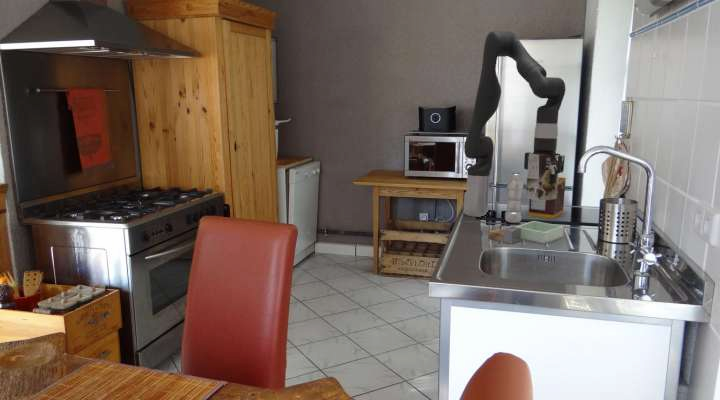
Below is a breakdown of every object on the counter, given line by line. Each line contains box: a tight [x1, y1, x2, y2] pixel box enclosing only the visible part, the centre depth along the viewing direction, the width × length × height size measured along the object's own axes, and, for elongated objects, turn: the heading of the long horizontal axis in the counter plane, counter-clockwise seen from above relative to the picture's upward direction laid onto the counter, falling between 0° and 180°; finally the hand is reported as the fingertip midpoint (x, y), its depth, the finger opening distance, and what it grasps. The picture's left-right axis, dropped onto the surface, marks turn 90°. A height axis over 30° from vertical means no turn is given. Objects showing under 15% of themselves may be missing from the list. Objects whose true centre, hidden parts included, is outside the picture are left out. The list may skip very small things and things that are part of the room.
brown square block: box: [488, 228, 505, 243], centre depth 189 cm, size 6×6×3 cm
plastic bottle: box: [504, 172, 524, 224], centre depth 211 cm, size 6×7×20 cm
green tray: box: [515, 220, 564, 245], centre depth 191 cm, size 12×14×4 cm
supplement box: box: [528, 176, 567, 220], centre depth 227 cm, size 10×15×16 cm
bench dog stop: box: [502, 226, 521, 245], centre depth 185 cm, size 3×6×4 cm, turn 134°
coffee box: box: [525, 152, 561, 201], centre depth 187 cm, size 9×6×16 cm
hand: (542, 183), depth 187 cm, fingers closed on coffee box, 7 cm apart
